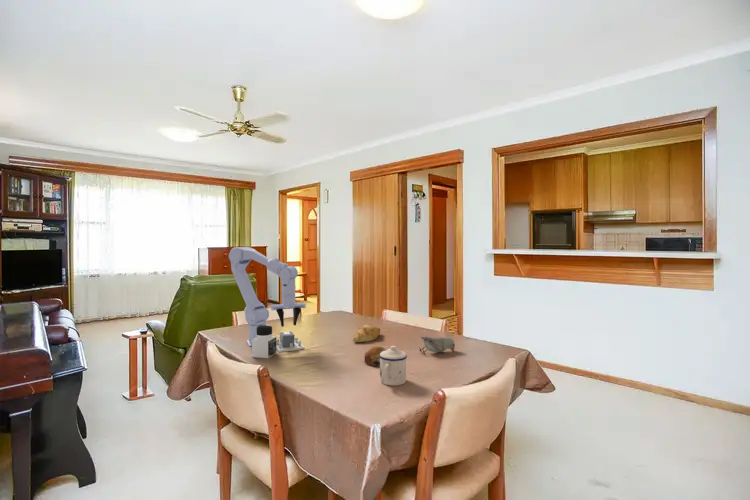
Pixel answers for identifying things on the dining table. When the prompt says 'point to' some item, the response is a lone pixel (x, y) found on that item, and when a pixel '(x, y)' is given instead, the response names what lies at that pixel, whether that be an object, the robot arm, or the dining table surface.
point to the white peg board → (297, 346)
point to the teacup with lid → (393, 367)
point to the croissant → (366, 333)
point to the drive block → (287, 339)
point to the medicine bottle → (264, 342)
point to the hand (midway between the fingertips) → (288, 325)
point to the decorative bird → (438, 344)
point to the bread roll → (373, 355)
